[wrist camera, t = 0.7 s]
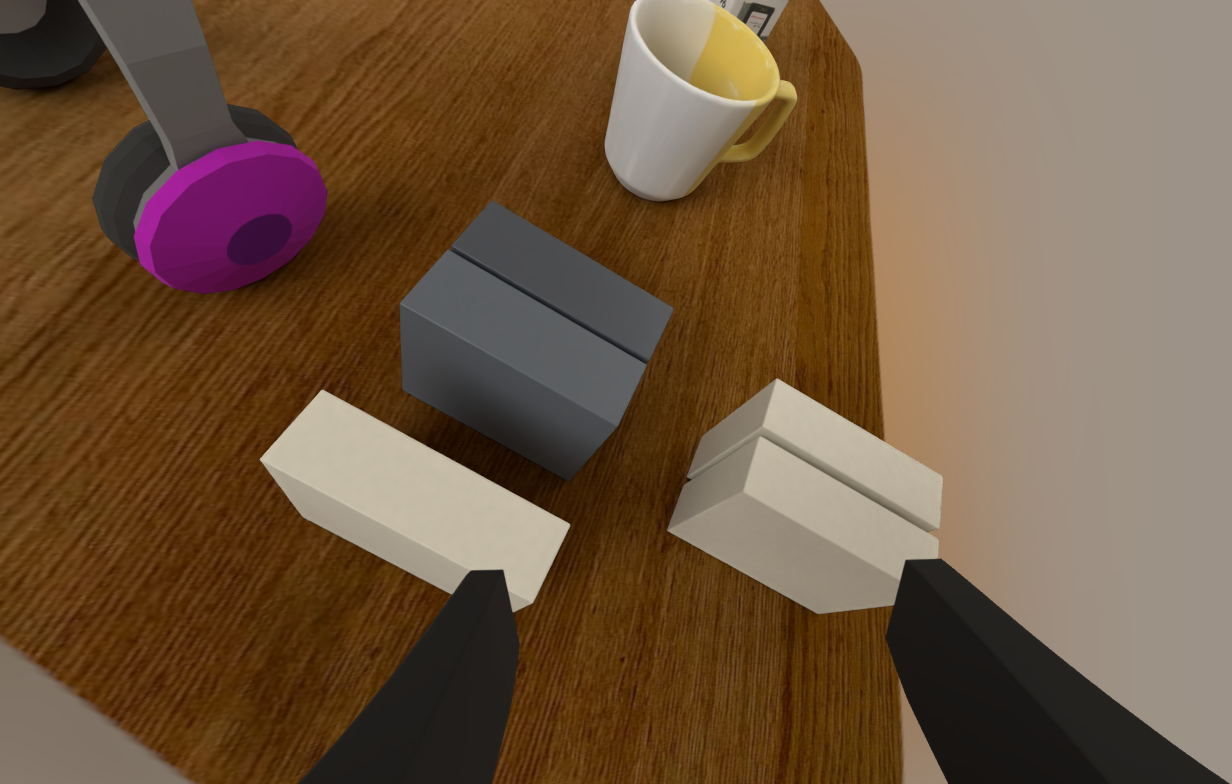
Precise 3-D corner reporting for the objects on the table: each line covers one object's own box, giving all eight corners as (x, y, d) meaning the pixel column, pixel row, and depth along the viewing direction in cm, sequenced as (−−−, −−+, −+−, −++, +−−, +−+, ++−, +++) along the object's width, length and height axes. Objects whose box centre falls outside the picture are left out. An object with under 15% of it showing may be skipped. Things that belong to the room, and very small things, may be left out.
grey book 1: (596, 427, 31) (649, 360, 24) (441, 339, 30) (450, 244, 23) (619, 381, 32) (674, 307, 26) (474, 297, 32) (491, 199, 25)
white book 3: (817, 614, 30) (935, 601, 23) (666, 530, 29) (742, 491, 22) (826, 565, 32) (939, 539, 25) (683, 484, 31) (759, 434, 24)
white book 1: (499, 619, 25) (532, 603, 18) (301, 516, 24) (258, 459, 17) (529, 559, 26) (571, 524, 19) (345, 461, 25) (321, 388, 19)
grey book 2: (569, 482, 29) (617, 426, 22) (401, 390, 28) (399, 303, 21) (595, 430, 30) (647, 364, 24) (439, 342, 30) (447, 248, 23)
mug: (584, 210, 38) (637, 72, 29) (580, 113, 42) (626, -32, 33) (751, 245, 42) (841, 134, 33) (731, 154, 46) (807, 35, 38)
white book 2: (828, 557, 32) (940, 529, 25) (686, 477, 31) (762, 426, 24) (836, 513, 34) (943, 476, 27) (701, 436, 33) (776, 377, 26)
